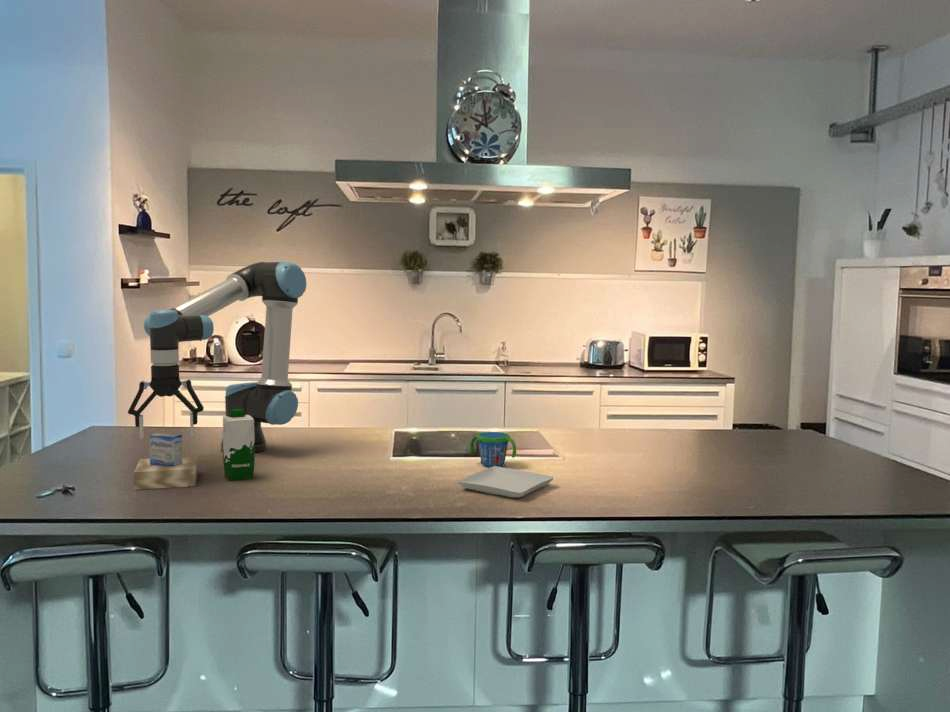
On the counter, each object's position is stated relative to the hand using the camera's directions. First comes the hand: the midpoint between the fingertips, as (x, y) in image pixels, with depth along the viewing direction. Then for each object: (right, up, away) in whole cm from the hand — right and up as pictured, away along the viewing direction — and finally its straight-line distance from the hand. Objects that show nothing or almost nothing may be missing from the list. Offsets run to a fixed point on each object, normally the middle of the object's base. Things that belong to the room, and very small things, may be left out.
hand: (167, 436), depth 226 cm
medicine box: (0, -8, 0) cm, 8 cm away
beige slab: (0, -13, +1) cm, 13 cm away
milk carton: (+19, -13, +7) cm, 24 cm away
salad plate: (+98, -16, +1) cm, 99 cm away
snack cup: (+95, -12, +28) cm, 100 cm away
